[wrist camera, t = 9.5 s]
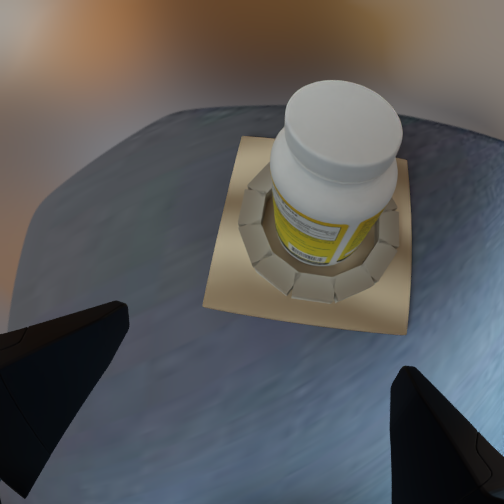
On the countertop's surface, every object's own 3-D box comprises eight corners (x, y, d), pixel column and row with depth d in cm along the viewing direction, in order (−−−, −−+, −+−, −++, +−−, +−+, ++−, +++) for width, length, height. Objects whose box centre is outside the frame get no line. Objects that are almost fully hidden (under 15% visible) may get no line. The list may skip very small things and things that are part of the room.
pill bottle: (346, 181, 21) (382, 66, 11) (371, 258, 19) (447, 174, 9) (266, 195, 22) (252, 76, 11) (284, 277, 20) (287, 198, 9)
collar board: (401, 335, 18) (413, 334, 16) (205, 307, 20) (197, 303, 18) (403, 165, 22) (411, 152, 20) (243, 141, 24) (239, 126, 22)
